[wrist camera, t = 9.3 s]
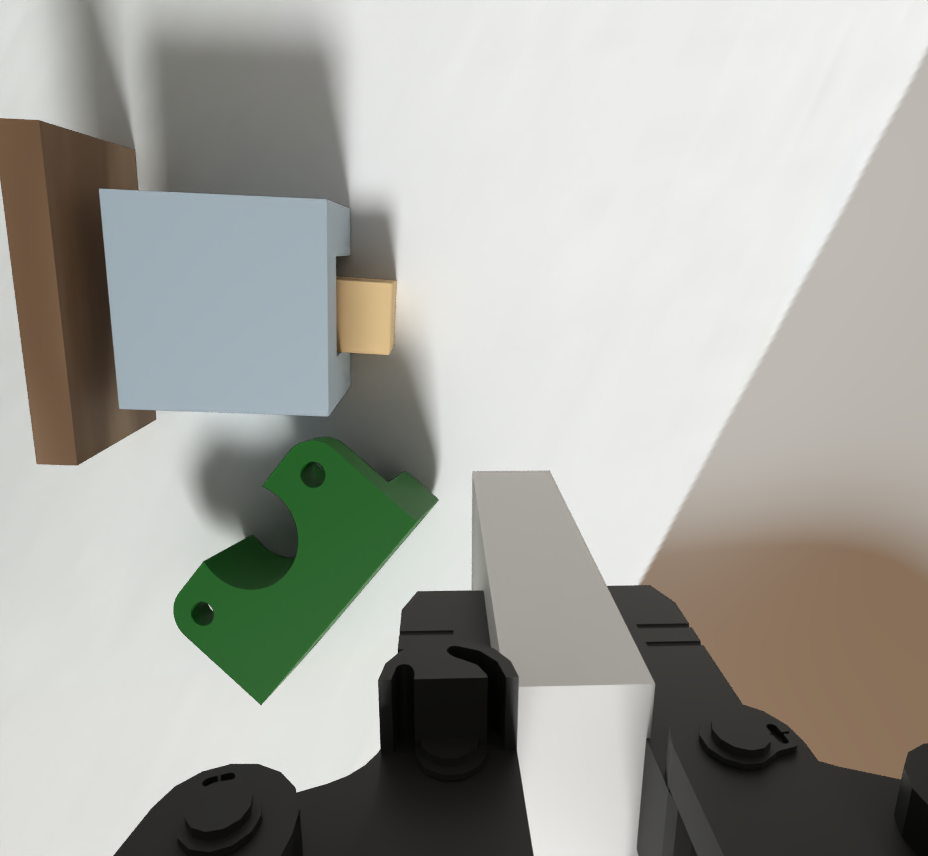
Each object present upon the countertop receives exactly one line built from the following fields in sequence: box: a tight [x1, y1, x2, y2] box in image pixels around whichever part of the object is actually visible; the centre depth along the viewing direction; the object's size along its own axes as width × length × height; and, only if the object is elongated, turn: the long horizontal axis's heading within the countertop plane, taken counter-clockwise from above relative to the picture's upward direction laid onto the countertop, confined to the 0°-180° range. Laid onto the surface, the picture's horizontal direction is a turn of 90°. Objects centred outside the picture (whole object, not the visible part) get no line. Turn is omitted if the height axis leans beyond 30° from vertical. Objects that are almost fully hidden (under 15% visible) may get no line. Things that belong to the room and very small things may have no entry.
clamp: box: [173, 437, 439, 705], centre depth 31 cm, size 12×6×9 cm
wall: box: [0, 118, 156, 465], centre depth 27 cm, size 2×12×7 cm, turn 178°
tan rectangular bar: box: [336, 276, 397, 355], centre depth 30 cm, size 7×3×3 cm, turn 86°
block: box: [99, 189, 351, 416], centre depth 28 cm, size 8×8×6 cm
